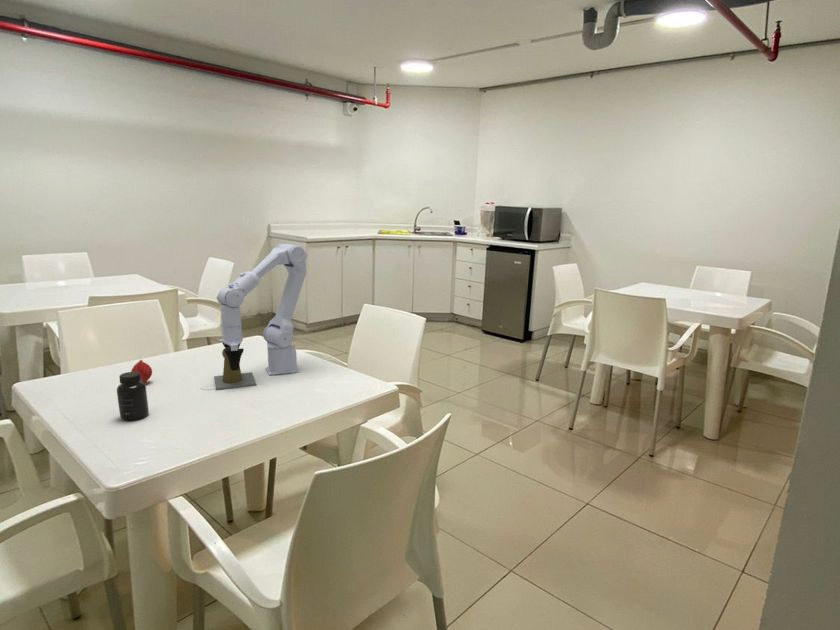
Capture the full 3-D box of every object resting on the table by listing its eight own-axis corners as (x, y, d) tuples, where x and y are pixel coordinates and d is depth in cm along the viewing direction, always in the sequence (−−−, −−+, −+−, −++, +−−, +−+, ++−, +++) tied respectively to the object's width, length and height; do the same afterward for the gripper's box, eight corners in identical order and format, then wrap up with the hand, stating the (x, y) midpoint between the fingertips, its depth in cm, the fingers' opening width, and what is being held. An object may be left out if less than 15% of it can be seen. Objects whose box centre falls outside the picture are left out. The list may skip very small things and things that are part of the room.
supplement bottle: (129, 410, 140) (125, 369, 138) (154, 411, 140) (150, 370, 138) (114, 421, 134) (109, 378, 131) (139, 422, 133) (135, 379, 131)
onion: (128, 385, 159) (125, 360, 158) (143, 379, 165) (141, 355, 163) (141, 388, 157) (138, 363, 156) (157, 382, 162) (154, 358, 161)
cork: (238, 383, 161) (236, 350, 159) (219, 383, 161) (217, 349, 159) (245, 377, 167) (243, 345, 165) (227, 376, 167) (225, 344, 165)
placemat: (252, 373, 172) (252, 372, 172) (256, 385, 162) (256, 383, 162) (214, 377, 168) (214, 376, 167) (215, 390, 157) (215, 388, 157)
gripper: (216, 321, 165) (219, 361, 168) (219, 331, 152) (222, 374, 155) (239, 319, 168) (241, 358, 171) (244, 329, 155) (246, 372, 158)
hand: (234, 366), depth 163 cm, fingers open, 7 cm apart
